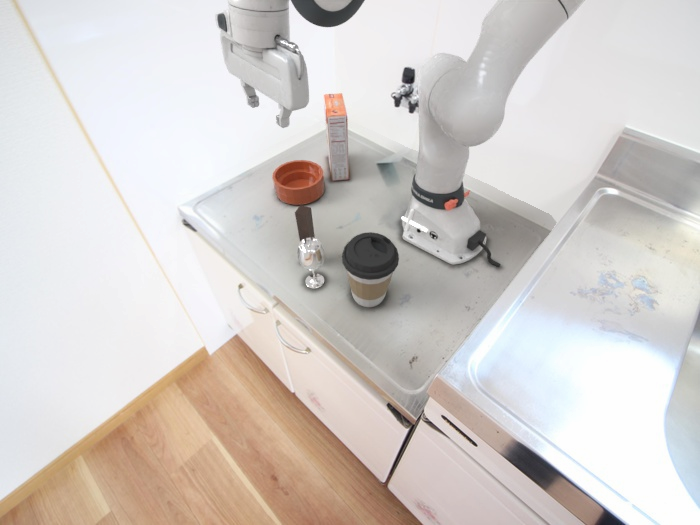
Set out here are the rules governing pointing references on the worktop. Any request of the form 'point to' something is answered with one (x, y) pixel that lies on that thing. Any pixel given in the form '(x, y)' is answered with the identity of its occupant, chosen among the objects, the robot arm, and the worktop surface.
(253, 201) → the worktop surface
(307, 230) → the stick
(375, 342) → the worktop surface
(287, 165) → the bowl
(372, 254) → the coffee cup
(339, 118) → the cracker box
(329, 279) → the worktop surface
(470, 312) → the worktop surface
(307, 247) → the wineglass
